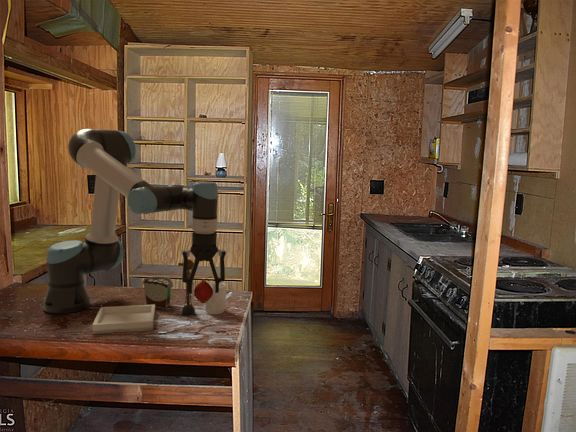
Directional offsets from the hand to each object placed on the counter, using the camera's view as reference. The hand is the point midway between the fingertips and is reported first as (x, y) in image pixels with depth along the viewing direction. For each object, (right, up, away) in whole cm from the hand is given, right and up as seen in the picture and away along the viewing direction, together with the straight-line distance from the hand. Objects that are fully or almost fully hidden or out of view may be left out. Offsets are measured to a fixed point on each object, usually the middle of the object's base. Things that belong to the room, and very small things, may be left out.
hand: (203, 302), depth 142 cm
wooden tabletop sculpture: (-9, -7, +16) cm, 20 cm away
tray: (-27, -8, +7) cm, 29 cm away
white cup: (+1, -7, +20) cm, 21 cm away
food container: (-20, -6, +25) cm, 32 cm away
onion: (0, -1, 0) cm, 1 cm away
